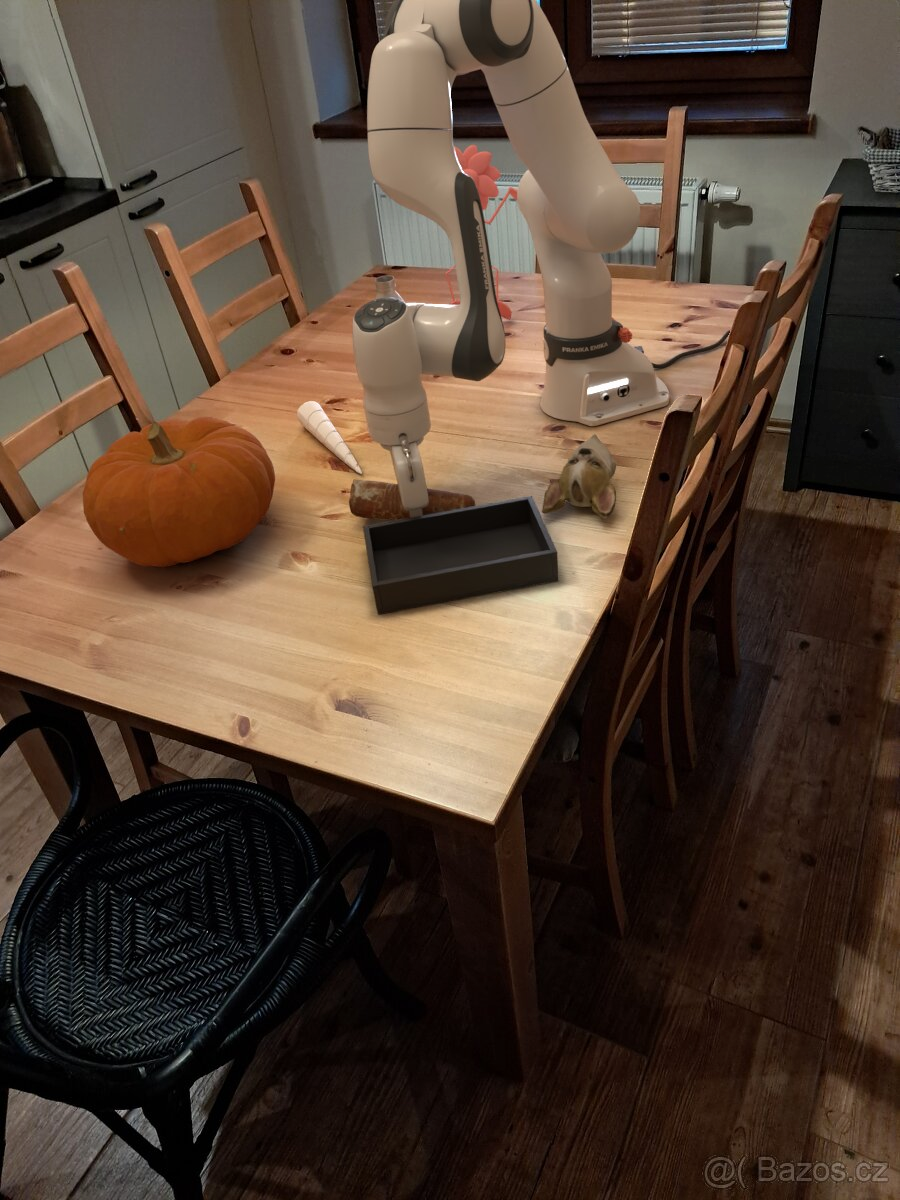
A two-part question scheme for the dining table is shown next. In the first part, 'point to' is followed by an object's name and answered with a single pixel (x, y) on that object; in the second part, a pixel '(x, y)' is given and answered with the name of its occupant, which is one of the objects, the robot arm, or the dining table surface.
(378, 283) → the plastic bottle
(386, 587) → the tray
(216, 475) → the pumpkin
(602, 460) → the ceramic sculpture
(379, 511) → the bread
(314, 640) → the dining table surface
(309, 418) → the unicorn horn
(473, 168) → the figurine
